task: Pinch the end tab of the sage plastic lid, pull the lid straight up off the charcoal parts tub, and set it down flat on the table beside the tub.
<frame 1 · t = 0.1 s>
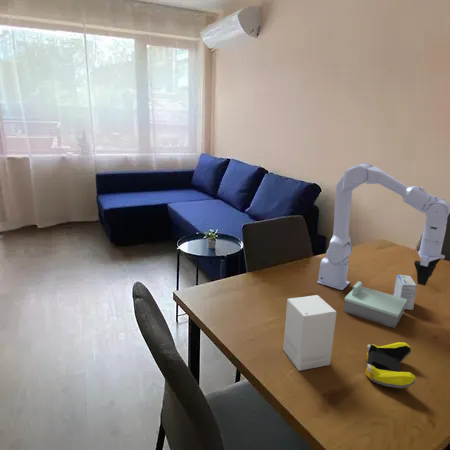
hand: (424, 280, 115), 10 cm above the table, tool pointing down, fingers open, 7 cm apart
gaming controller: (387, 374, 88), on the table
medicine box: (402, 304, 121), on the table
supplement box: (305, 357, 93), on the table
tub: (373, 312, 115), on the table
lid: (375, 303, 114), point 3 cm above the table, touching tub
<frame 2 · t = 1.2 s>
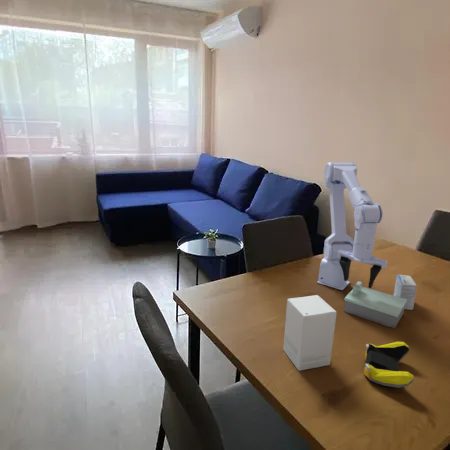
hand: (358, 283, 116), 8 cm above the table, tool pointing down, fingers open, 7 cm apart
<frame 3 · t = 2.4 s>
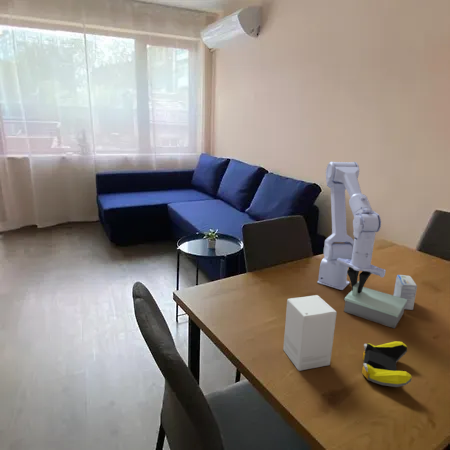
hand: (356, 291, 117), 5 cm above the table, tool pointing down, fingers closed on lid
lid: (375, 303, 114), point 3 cm above the table, touching gripper, tub
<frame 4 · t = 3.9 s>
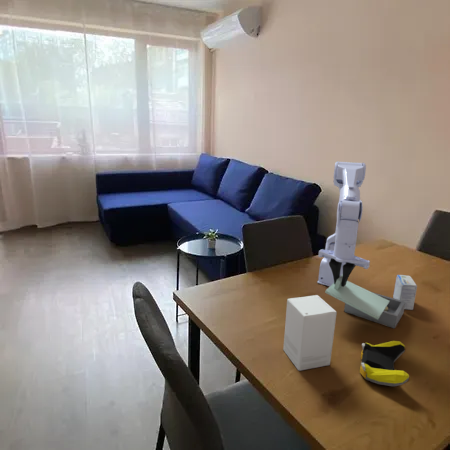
hand: (339, 284, 109), 11 cm above the table, tool pointing down, fingers closed on lid
lid: (356, 300, 108), point 7 cm above the table, tilted 11°, touching gripper
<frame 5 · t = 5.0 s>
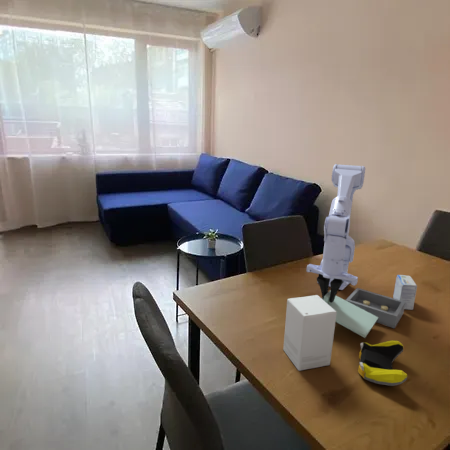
hand: (328, 299, 108), 7 cm above the table, tool pointing down, fingers closed on lid
lid: (344, 316, 106), point 3 cm above the table, tilted 11°, touching gripper
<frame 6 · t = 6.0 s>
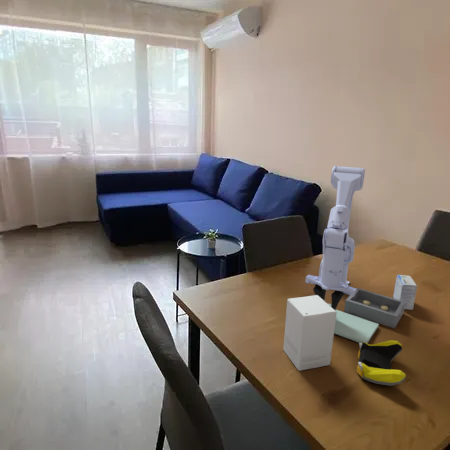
hand: (326, 310, 109), 3 cm above the table, tool pointing down, fingers open, 3 cm apart
lid: (344, 328, 107), on the table
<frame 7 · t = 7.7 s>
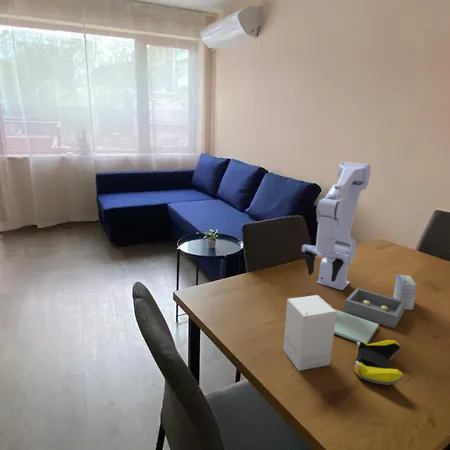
hand: (321, 277, 117), 9 cm above the table, tool pointing down, fingers open, 7 cm apart
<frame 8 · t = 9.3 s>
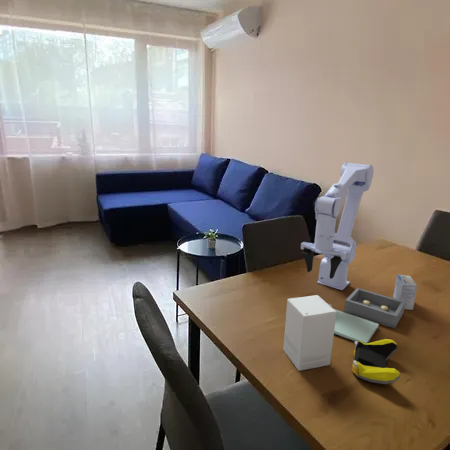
hand: (320, 274, 119), 9 cm above the table, tool pointing down, fingers open, 7 cm apart
at the end: lid inside the target area (0.2 cm from its centre), on the table; lid touching table; the gripper is holding nothing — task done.
